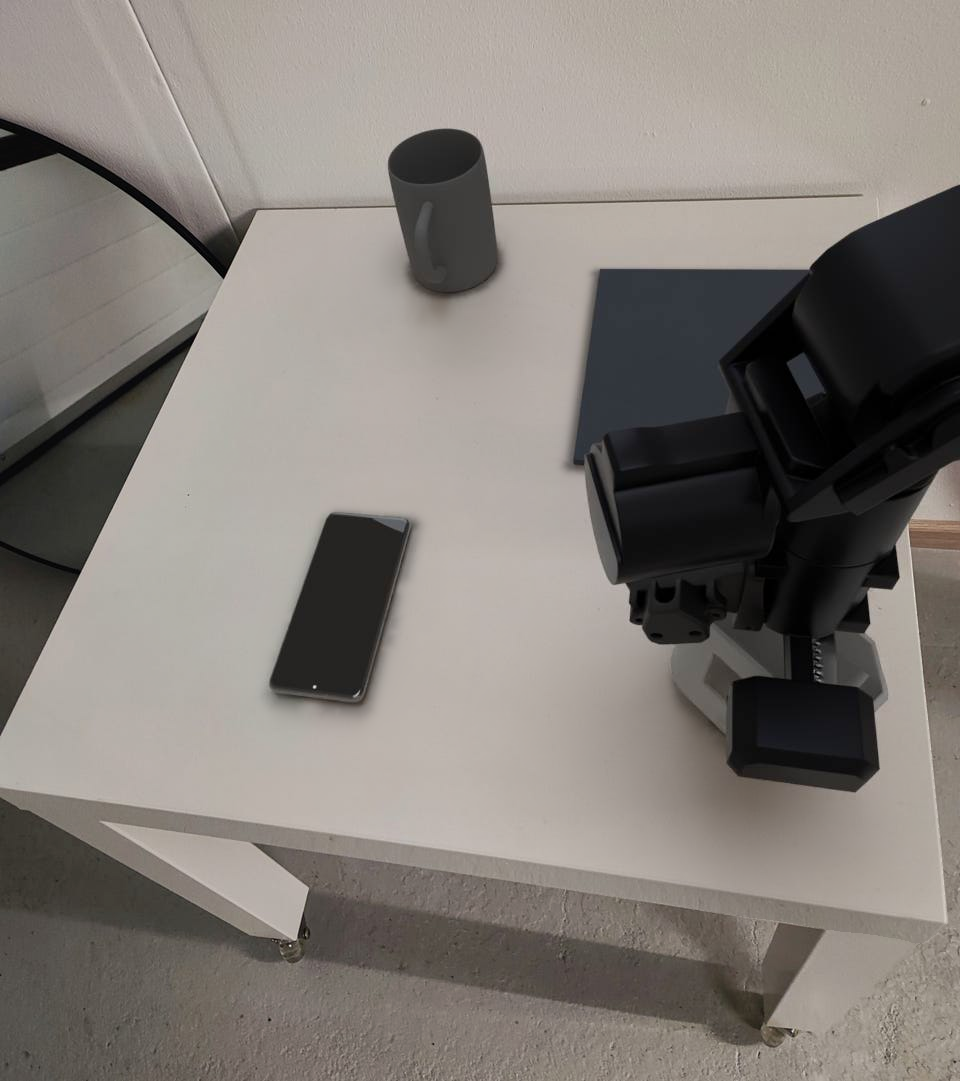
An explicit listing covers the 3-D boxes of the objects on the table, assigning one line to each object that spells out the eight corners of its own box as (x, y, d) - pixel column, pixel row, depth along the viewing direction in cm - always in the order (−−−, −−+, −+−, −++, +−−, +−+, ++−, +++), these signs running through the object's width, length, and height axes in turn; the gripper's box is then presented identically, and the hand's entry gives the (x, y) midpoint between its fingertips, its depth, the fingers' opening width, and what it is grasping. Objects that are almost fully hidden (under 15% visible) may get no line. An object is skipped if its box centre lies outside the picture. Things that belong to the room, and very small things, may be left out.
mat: (814, 274, 76) (815, 269, 75) (829, 477, 63) (830, 472, 63) (599, 273, 80) (599, 268, 79) (573, 464, 67) (573, 459, 67)
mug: (422, 236, 87) (398, 128, 77) (505, 236, 85) (492, 125, 75) (392, 324, 80) (361, 218, 70) (482, 326, 78) (464, 217, 68)
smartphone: (411, 516, 65) (360, 700, 56) (414, 524, 66) (364, 706, 57) (326, 510, 67) (264, 688, 58) (330, 517, 68) (269, 694, 59)
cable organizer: (784, 801, 51) (840, 746, 40) (641, 661, 56) (659, 581, 46) (852, 733, 52) (924, 663, 42) (708, 604, 58) (740, 515, 48)
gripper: (652, 351, 41) (634, 525, 54) (624, 690, 31) (611, 804, 44) (886, 361, 39) (809, 540, 52) (936, 727, 29) (826, 836, 42)
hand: (762, 666), depth 48 cm, fingers open, 9 cm apart
